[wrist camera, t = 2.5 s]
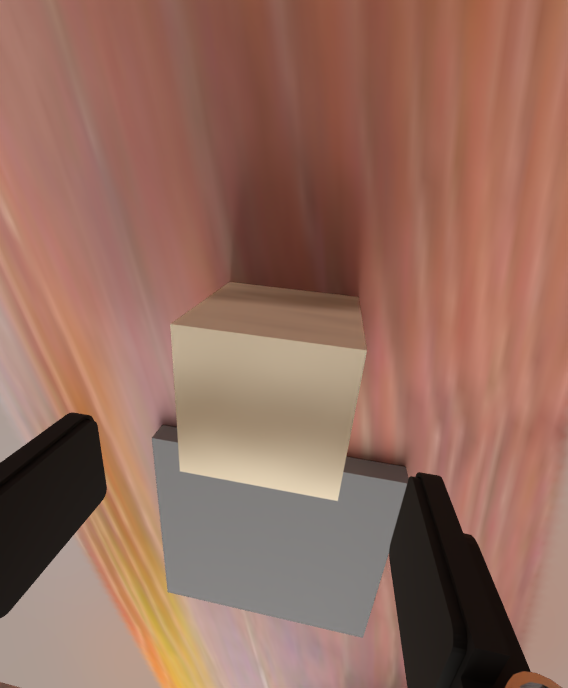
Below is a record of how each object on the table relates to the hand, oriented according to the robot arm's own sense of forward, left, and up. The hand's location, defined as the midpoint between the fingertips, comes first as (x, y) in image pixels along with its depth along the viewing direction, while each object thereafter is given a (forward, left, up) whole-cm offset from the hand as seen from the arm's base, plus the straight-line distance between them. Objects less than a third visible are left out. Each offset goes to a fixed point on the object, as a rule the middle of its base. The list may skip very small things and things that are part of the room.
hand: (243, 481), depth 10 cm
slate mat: (+12, 0, -8) cm, 14 cm away
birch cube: (-1, 0, -8) cm, 8 cm away
